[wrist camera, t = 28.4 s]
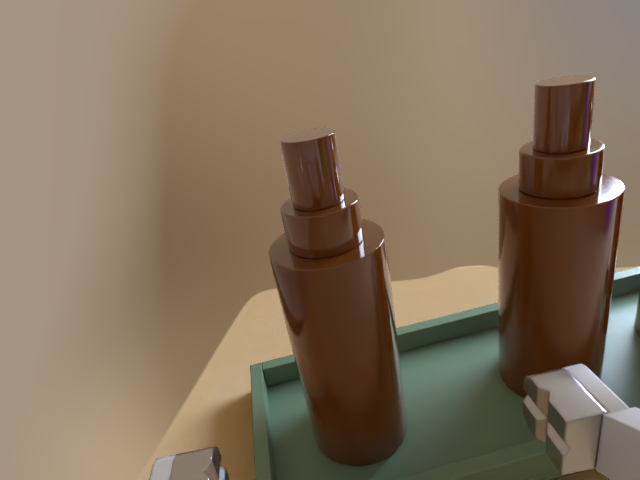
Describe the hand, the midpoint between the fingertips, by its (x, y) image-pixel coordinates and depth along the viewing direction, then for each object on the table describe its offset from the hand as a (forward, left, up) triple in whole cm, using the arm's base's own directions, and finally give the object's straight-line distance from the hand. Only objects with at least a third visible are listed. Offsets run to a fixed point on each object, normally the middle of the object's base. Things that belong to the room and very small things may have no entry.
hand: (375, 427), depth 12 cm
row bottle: (+13, +11, -11) cm, 20 cm away
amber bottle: (+1, +11, -11) cm, 15 cm away
